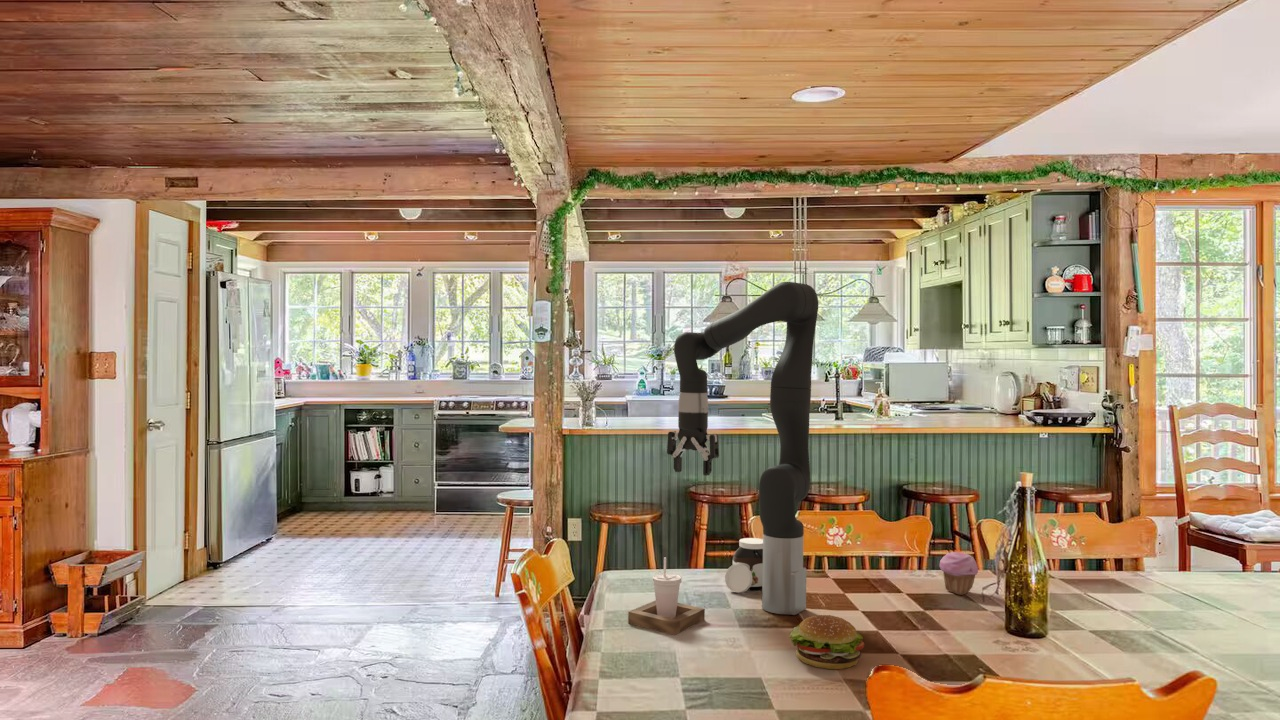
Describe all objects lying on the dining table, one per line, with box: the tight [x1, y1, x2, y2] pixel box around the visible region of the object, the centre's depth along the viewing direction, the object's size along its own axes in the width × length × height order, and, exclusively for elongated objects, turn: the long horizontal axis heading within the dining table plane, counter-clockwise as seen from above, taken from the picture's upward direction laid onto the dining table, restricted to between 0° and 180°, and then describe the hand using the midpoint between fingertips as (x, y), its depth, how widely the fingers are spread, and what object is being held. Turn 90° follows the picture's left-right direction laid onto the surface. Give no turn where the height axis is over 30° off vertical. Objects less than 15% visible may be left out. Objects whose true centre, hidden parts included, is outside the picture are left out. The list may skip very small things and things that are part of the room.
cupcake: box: [939, 551, 979, 596], centre depth 201 cm, size 9×9×10 cm
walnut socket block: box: [627, 599, 706, 636], centre depth 175 cm, size 12×12×2 cm
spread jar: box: [724, 537, 763, 594], centre depth 202 cm, size 12×11×12 cm
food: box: [789, 614, 865, 670], centre depth 155 cm, size 14×14×8 cm
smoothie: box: [651, 557, 683, 618], centre depth 175 cm, size 6×6×14 cm
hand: (692, 473), depth 206 cm, fingers open, 8 cm apart
